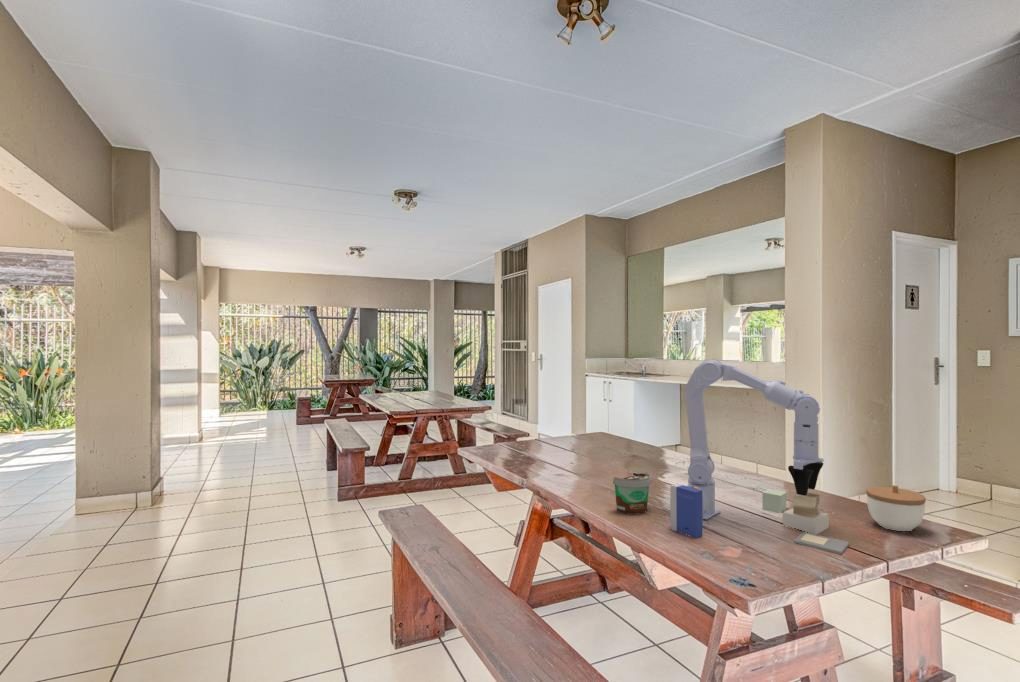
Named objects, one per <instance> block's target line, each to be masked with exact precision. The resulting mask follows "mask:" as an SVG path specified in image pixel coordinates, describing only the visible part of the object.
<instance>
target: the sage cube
mask: <svg viewBox="0 0 1020 682" xmlns="http://www.w3.org/2000/svg"><path fill="white" fill-rule="evenodd" d="M785 509H787V492H786V491H782V490H776V489H773V488H772V489H771V488H767V489H766V490H764V491H763V492H762V510H764V511H769V512H770V511H771V512H775V513H779V512H782V511H783V512H785V511H786V510H785ZM783 512H782V513H783Z"/></svg>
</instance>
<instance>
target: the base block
mask: <svg viewBox="0 0 1020 682" xmlns="http://www.w3.org/2000/svg"><path fill="white" fill-rule="evenodd" d="M782 515H783V517H782V518H783V519H782V520H783V522H782V523H783V524H782V526H783V525H785V526H789V527H792V528H796V529H799V530H802V531H801V532H803V531H805V532H808V533H812V534H816V535H819V534H820V533H822V532H823V531H826V530H827V529H829V528H830V527H829V526H830V525H829V521H830V520H829V518H830V514H829V513H826V512H822V511H820V514H818V515H817V516H816V517H815V518H812V517H807V516H803V515H798V514H794V513H793V507H792V508H791V509H787V510H784V511H783V512H782ZM785 526H784V527H785ZM792 528H791V529H792ZM796 529H795V530H796ZM799 530H798V531H799Z"/></svg>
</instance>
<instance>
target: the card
mask: <svg viewBox="0 0 1020 682" xmlns="http://www.w3.org/2000/svg"><path fill="white" fill-rule="evenodd" d="M794 542H795V543H794ZM793 543H794V544H797V543H798V545H801V546H805V547H810V548H814V549H818V550H822V551H826V552H830V553H833V554H834V553H835V554H839V555H842V554H843V553H844V552H845V550H846V549H847V548H848V547H849V546H850V541H845V540H841V539H838V538H833V537H829V536H824V535H821V534H812V533H807V532H803V531H802V533H800V534H799V535H798V536H797V537H796V538H795V539H794V540H793Z"/></svg>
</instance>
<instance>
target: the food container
mask: <svg viewBox="0 0 1020 682" xmlns="http://www.w3.org/2000/svg"><path fill="white" fill-rule="evenodd" d="M652 482H653V481H652V478H651V475H650V474H649V473H647V472H645V474H644V475H640V476H632V475H631V476H626V477H624V478H620V477H616V476H614V477H613V480H612V485H614V490H615V491H614V492H615V502H616V503H615V504H616V505H615V506H616V511H618V512H619V511H620V512H619V513H623V514H628V513H630V515H637V514H636V513H641V514H644V513H646V512H647V511H648V503H649V501H648V500H649V491H650V490H649V489H650V486H651V485H652ZM645 511H646V512H645ZM643 512H644V513H643Z"/></svg>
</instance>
